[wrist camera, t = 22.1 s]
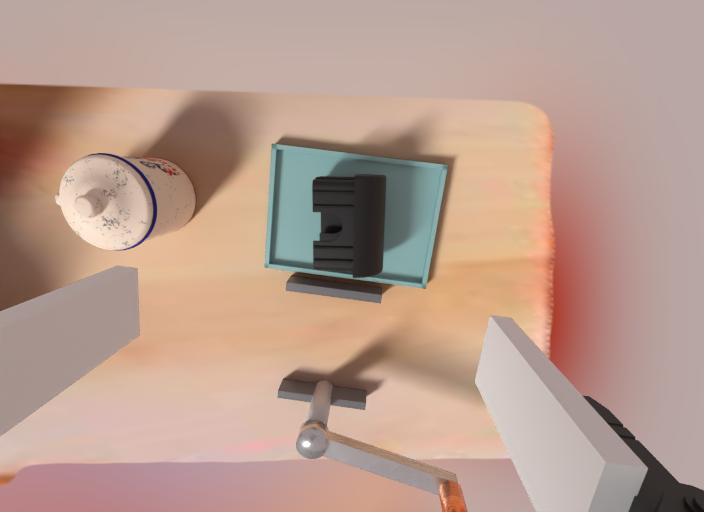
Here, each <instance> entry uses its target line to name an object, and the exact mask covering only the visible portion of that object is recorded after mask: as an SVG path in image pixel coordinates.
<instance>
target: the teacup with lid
mask: <svg viewBox="0 0 704 512" xmlns="http://www.w3.org/2000/svg"><path fill="white" fill-rule="evenodd" d="M55 199H56V203H57V204H58V205H60V206H61V209H62V212H63V214H64V217H65V219H66V221H67V222H68V224H69V225H70V227H71V228H72V229H73V230H74V231H75V233H77V234H78V235H79V236H80V237H81V238H82V239H84V240H85V241H87V242H88V243H90V244H92V245H94V246H97V247H99V248H103V249H108V250H127V249H130V248H133V247H136V246H138V245H139V244H141V243H142V242H144V241H147V240H150V239H153V238H156V237H159V236H162V235H165V234H168V233H171V232H174V231H177V230H179V229H180V228H182V227H183V226H185V225H186V224H187V223H188V221H189V220H190V219H191V217H192V215H193V212H194V209H195V201H196V200H195V192H194V188H193V185H192V183H191V181H190V179H189V178H188V176H187V175H186V174H185V173H184V172H183V170H181V169H180V168H179V167H178V166H177V165H175V164H173V163H172V162H170V161H167V160H164V159H159V158H142V157H119V156H116V155H112V154H106V153H97V154H91V155H88V156H85V157H83V158H81V159H79V160H77V161H76V162H74V163H73V164H72V165H71V166H70V167H69V168H68V169H67V171H66V172H65V174H64V176H63V178H62V181H61V184H60V190H59V193H58V194H56V195H55Z"/></svg>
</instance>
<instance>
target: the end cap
mask: <svg viewBox="0 0 704 512" xmlns="http://www.w3.org/2000/svg"><path fill="white" fill-rule="evenodd" d="M312 202H313V212H321V233H319V237H320V241H313V268H314V270H338V271H353V278H365V277H371V276H375V275H378V274H380V273H381V272H382V270H383V256H384V229H385V202H386V176H385V175H374V174H356V175H355V176H354V177H336V176H320V177H316V178H315V179H314V180H313V182H312Z"/></svg>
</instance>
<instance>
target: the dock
mask: <svg viewBox="0 0 704 512" xmlns="http://www.w3.org/2000/svg"><path fill="white" fill-rule="evenodd" d="M286 291H293V292H301V293H308V294H316V295H323V296H331V297H338V298H346V299H353V300H361V301H368V302H376V303H381V298H382V288H380V287H372V286H365V285H357V284H349V283H342V282H334V281H327V280H319V279H312V278H304V277H296V276H291V277H290V278H289V280H288V281H287V282H286ZM278 398H284V399H291V400H298V401H305V402H311V404H310V408H309V412H308V416H307V419H306V421H308V420H318V421H321V422H323V423H324V424H325V425H326V426H327V421H328V416H329V410H330V405H334V406H341V407H348V408H355V409H362V410H365V406H366V391H365V390H358V389H351V388H344V387H336V386H333V385H332V384H331V383H330V382H329V381H327V380H321V381H319V382H317V383H316V384H315V383H308V382H301V381H294V380H286V379H283V380H282V383H281V385H280V388H279V390H278Z"/></svg>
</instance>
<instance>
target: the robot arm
mask: <svg viewBox="0 0 704 512" xmlns="http://www.w3.org/2000/svg"><path fill="white" fill-rule="evenodd" d="M138 336H140V325H139V295H138V268H132V267H124V266H115V267H113V268H110V269H108V270H105V271H103V272H100V273H97V274H95V275H92V276H90V277H87V278H85V279H82V280H79V281H77V282H74V283H72V284H69V285H67V286H64V287H61V288H59V289H56V290H54V291H51V292H49V293H46V294H43V295H41V296H38V297H36V298H33V299H31V300H28V301H25V302H23V303H20V304H18V305H15V306H13V307H10V308H7V309H5V310H2V311H0V436H2V435H3V434H4V433H6V432H7V431H8V430H10V429H11V428H13V427H14V426H15V425H17V424H18V423H19V422H21V421H22V420H24V419H25V418H26V417H28V416H29V415H30V414H32V413H33V412H35V411H36V410H37V409H39V408H40V407H42V406H43V405H44V404H46V403H47V402H48V401H50V400H51V399H53V398H54V397H55V396H57V395H58V394H59V393H61V392H62V391H64V390H65V389H66V388H68V387H69V386H71V385H72V384H73V383H75V382H76V381H77V380H79V379H80V378H82V377H83V376H84V375H86V374H87V373H88V372H90V371H91V370H93V369H94V368H95V367H97V366H98V365H99V364H101V363H102V362H104V361H105V360H106V359H108V358H109V357H111V356H112V355H113V354H115V353H116V352H117V351H119V350H120V349H122V348H123V347H124V346H126V345H127V344H128V343H130V342H131V341H133V340H134V339H135V338H137V337H138ZM475 383H476V385H477V387H478V390H479V392H480V394H481V396H482V398H483V400H484V402H485V404H486V407H487V409H488V411H489V413H490V415H491V417H492V419H493V421H494V424H495V426H496V428H497V430H498V432H499V434H500V436H501V438H502V441H503V443H504V445H505V447H506V449H507V451H508V453H509V455H510V457H511V460H512V462H513V464H514V466H515V468H516V470H517V472H518V474H519V476H520V479H521V481H522V483H523V485H524V487H525V489H526V491H527V494H528V496H529V498H530V500H531V502H532V504H533V506H534V508H535V510H536V512H704V491H703V490H701V489H699V488H696V487H694V486H690V485H686V484H681V483H679V482H678V481H677V480H676V479H675V478H674V477H673V476H672V475H671V474H670V473H669V472H668V471H667V470H666V469H665V468H664V467H663V465H662V464H661V463H660V462H659V461H658V460H656V458H655V457H654V456H653V455H652V454H651V453H650V452H649V451H648V450H647V449H646V448H645V447H644V446H643V445H642V444H641V443H640V442H639V441H638V440H635V437H634V436H633V434H632V433H631V432H630V431H629V430H628V429H627V428H624V427H623V424H622V423H621V422H620V421H619V420H618V419H617V418H616V417H615V416H614V415H613V414H612V413H611V412H610V411H609V410H608V409H607V408H605V407H604V406H602V405H601V404H599V403H598V402H597V401H595V400H594V399H592V398H591V397H589V396H582V395H581V394H580V393H579V392H578V391H577V390H576V389H575V387H574V386H573V385H572V384H571V383H570V382H569V381H568V380H567V379H566V378H565V376H564V375H563V374H562V373H561V372H560V371H559V370H558V369H557V368H556V367H555V365H554V364H553V363H552V362H551V361H550V360H549V359H548V358H547V357H546V356H545V354H544V353H543V352H542V351H541V350H540V349H539V348H538V347H537V346H536V345H535V343H534V342H533V341H532V340H531V339H530V338H529V337H528V336H527V335H526V334H525V332H524V331H523V330H522V329H521V328H520V327H519V326H518V325H517V324H516V323H515V321H514V320H513V319H512V318H508V317H500V316H493V315H490V318H489V322H488V327H487V331H486V335H485V339H484V344H483V348H482V352H481V356H480V361H479V365H478V369H477V374H476V378H475Z"/></svg>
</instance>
